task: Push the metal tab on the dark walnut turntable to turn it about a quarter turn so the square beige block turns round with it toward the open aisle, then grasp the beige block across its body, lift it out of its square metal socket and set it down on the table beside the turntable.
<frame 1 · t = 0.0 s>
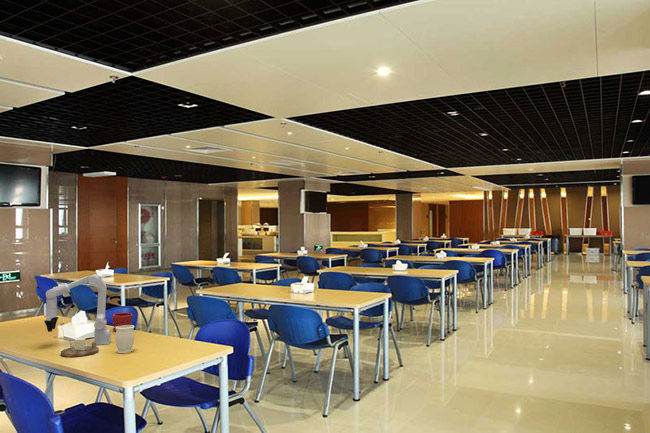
hand: (51, 330, 302), 10 cm above the table, tool pointing down, fingers open, 7 cm apart
plant pot: (122, 331, 348), on the table
jar: (124, 352, 289), on the table
turntable: (80, 348, 286), point 3 cm above the table, hinge at 0.0°, touching beige block
beige block: (80, 349, 286), point 2 cm above the table, touching turntable
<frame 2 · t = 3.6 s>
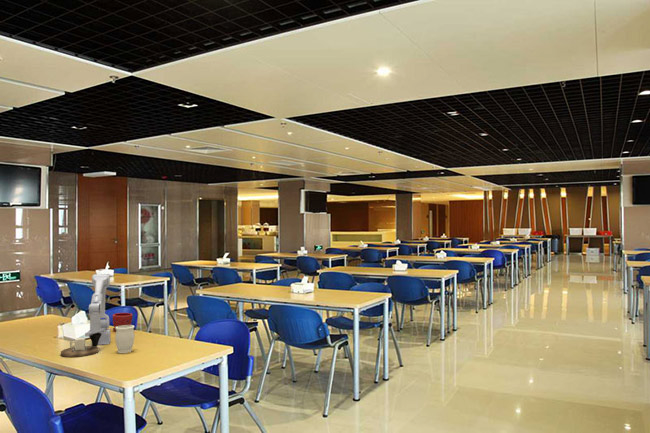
hand: (95, 346, 291), 3 cm above the table, tool pointing down, fingers closed
turntable: (80, 348, 286), point 3 cm above the table, hinge at 3.8°, touching gripper, beige block
everything else where it was.
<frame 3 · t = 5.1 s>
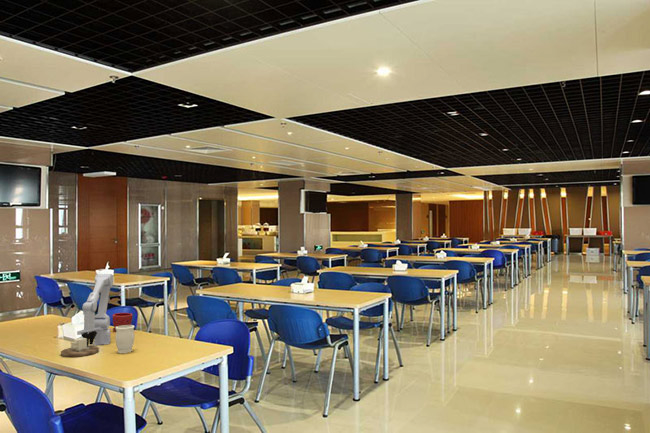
hand: (89, 344, 294), 3 cm above the table, tool pointing down, fingers closed
turntable: (80, 348, 286), point 3 cm above the table, hinge at 44.6°, touching gripper, beige block
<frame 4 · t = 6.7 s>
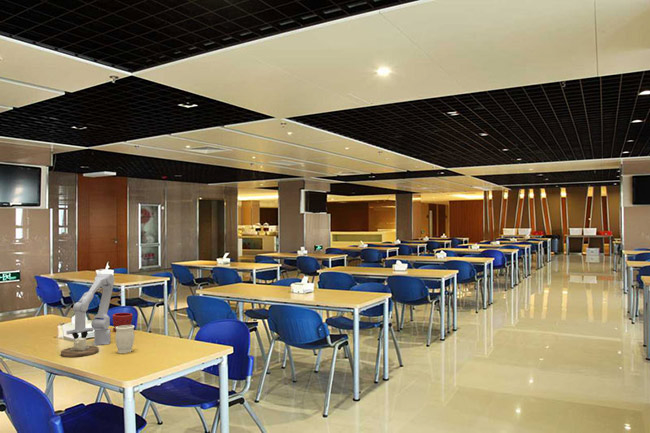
hand: (79, 344, 293), 3 cm above the table, tool pointing down, fingers closed
turntable: (80, 348, 286), point 3 cm above the table, hinge at 73.7°, touching gripper, beige block
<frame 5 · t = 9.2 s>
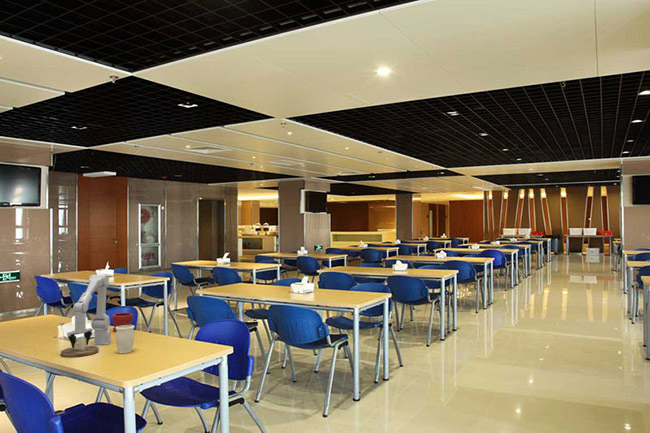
hand: (80, 346, 286), 4 cm above the table, tool pointing down, fingers open, 7 cm apart
turntable: (80, 348, 286), point 3 cm above the table, hinge at 72.2°, touching beige block
beige block: (80, 349, 286), point 2 cm above the table, touching gripper, turntable
everything else where it was.
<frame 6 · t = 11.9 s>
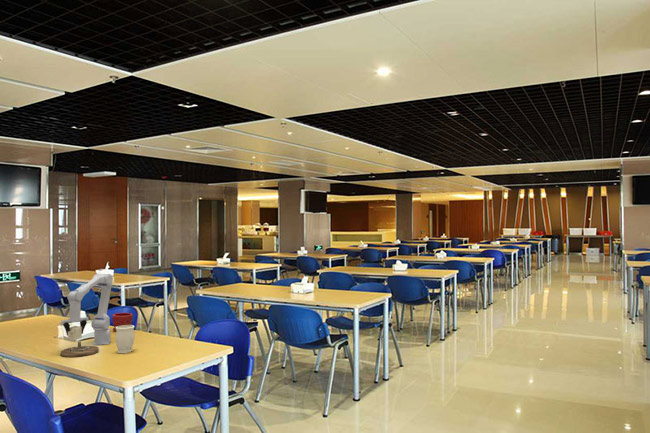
hand: (74, 334, 288), 10 cm above the table, tool pointing down, fingers closed on beige block, 7 cm apart
turntable: (80, 348, 286), point 3 cm above the table, hinge at 72.2°
beige block: (75, 338, 288), point 8 cm above the table, touching gripper
everything else where it was.
when the fingers open (3 cm above the table, at t = 14.6 s): beige block drops 1 cm, on the table.
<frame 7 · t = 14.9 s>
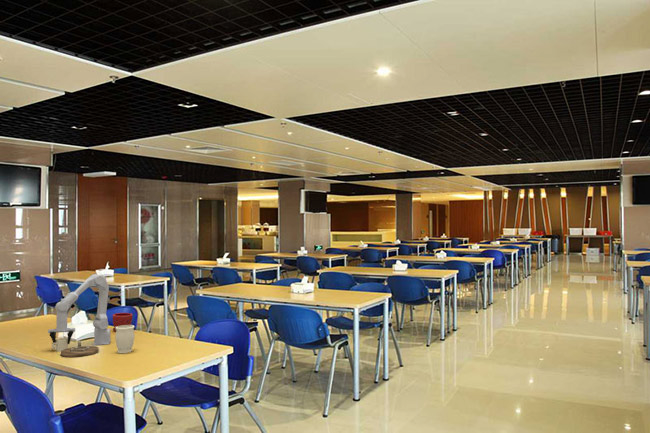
hand: (61, 344, 293), 3 cm above the table, tool pointing down, fingers open, 7 cm apart
beige block: (61, 350, 293), on the table
everything else where it was.
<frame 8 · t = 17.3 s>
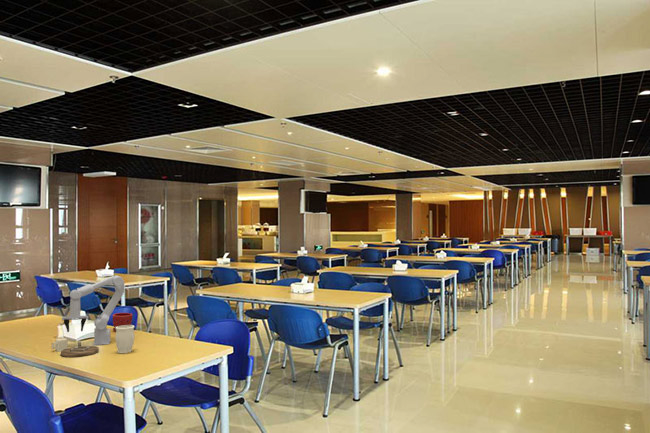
hand: (75, 331, 302), 9 cm above the table, tool pointing down, fingers open, 7 cm apart
nothing on the table moved.
at the end: turntable at +72° (first picture: +0°); beige block inside the target area (0.4 cm from its centre), on the table; beige block tilted 0° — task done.
